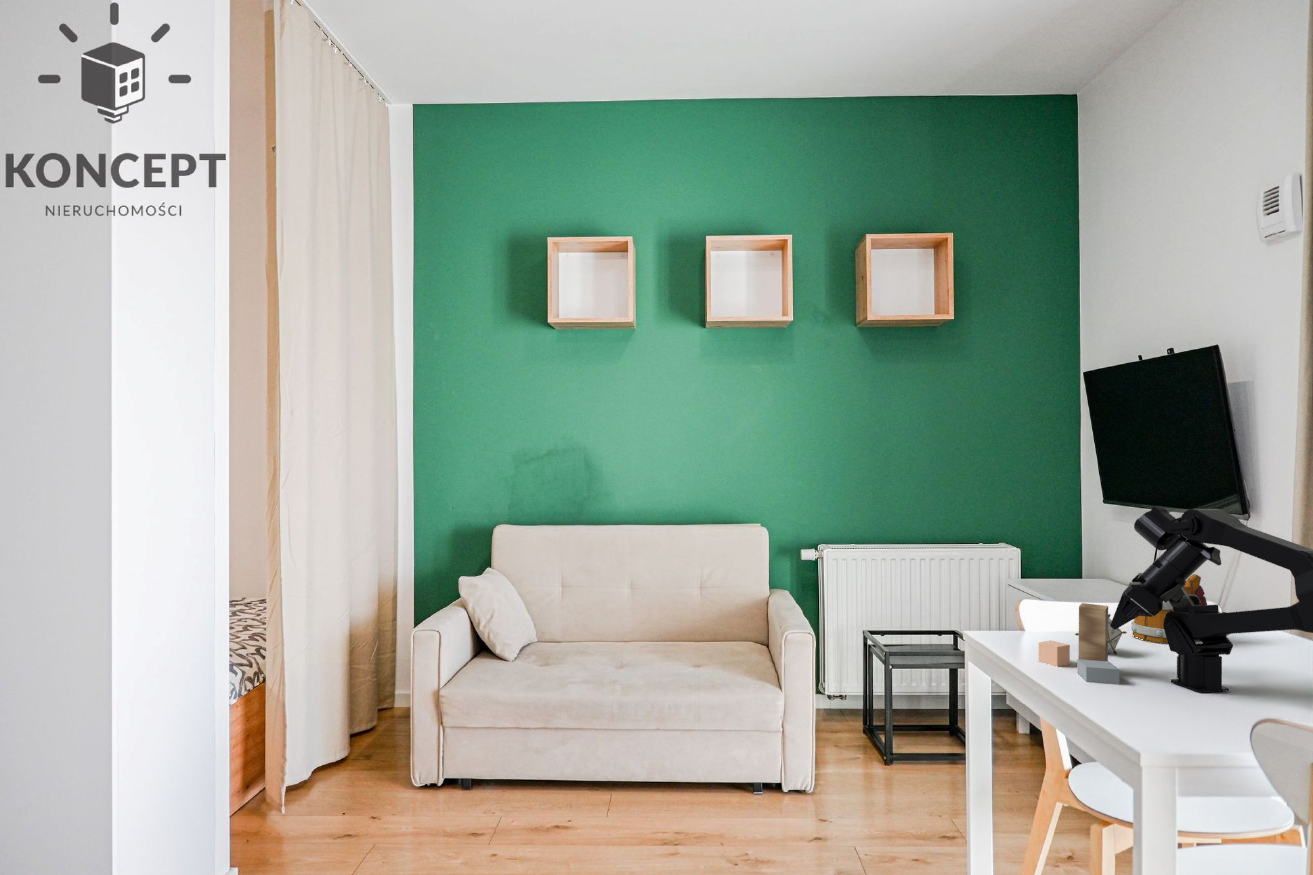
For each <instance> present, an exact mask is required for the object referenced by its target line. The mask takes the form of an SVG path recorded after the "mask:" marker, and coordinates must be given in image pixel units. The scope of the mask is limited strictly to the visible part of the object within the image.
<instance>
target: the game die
mask: <svg viewBox="0 0 1313 875" xmlns="http://www.w3.org/2000/svg"><path fill="white" fill-rule="evenodd" d="M1111 622H1112V619H1111V613H1108V652H1113V654H1114V653H1116V654H1115V655H1117V654H1118V653H1117V651H1116V648H1117V645H1118V643H1119V642H1120V639H1121V637H1122V635H1124V634H1125V635H1126V634H1127V633H1128V631H1126V630H1125V631H1122V630H1121V629H1120V627H1119V628H1118V629H1116V630H1114V629H1113V628H1112V627H1110V624H1111ZM1074 635H1075V636H1079V632H1076V633H1074Z"/></svg>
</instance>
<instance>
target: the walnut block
mask: <svg viewBox="0 0 1313 875" xmlns="http://www.w3.org/2000/svg"><path fill="white" fill-rule="evenodd" d="M1108 614H1109V605H1104V604H1094V603H1084V602H1082V603H1080V604H1079V607H1078V633H1079V635H1078V659H1079V660H1095V661H1109V651H1108Z"/></svg>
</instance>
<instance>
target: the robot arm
mask: <svg viewBox="0 0 1313 875" xmlns="http://www.w3.org/2000/svg"><path fill="white" fill-rule="evenodd" d="M1133 530H1134V531H1135V532H1136V533H1138V535H1139V536H1141V537H1142V538H1143V539H1145V541H1147V543H1149V544H1150V545H1151V546H1152V547H1154V548H1155V549H1156V550H1158V551H1163V553H1162V554H1160V556H1159V557H1157V558H1156V559H1155V560H1154V561H1153V563H1151V564H1150V565H1149V566H1148V568H1146V569H1145V571H1143V572H1138V573H1137V574H1136V575H1135V576H1134V577H1133V578H1132V580H1131V581H1130V582H1129V583H1128V586H1127V587H1126V588H1125V589H1124V591H1123V592H1122V593H1121V596H1120V599H1119V601H1118V604H1117V607H1116V610H1115V613H1114V614H1113V617H1112V619H1111V620H1112V622H1111V624H1110V627H1112V628H1113V629H1114V630H1116V629H1118V628H1119V629H1120V628H1121V627H1122V626H1124V625H1126V624H1128V623H1130V622H1132V621H1134V619H1135V618H1136V617H1138V616H1149V617H1153V616H1156V615H1157V614H1158V613H1159V612H1160V611H1161V610H1162V609H1163V601H1164V602H1165V603H1167V602H1168V601H1169V602H1170V604H1171V605H1172V607H1173V610H1174V611H1171V612H1168V613H1167V614H1166V617H1165V618H1164V625H1163V626H1164V631H1165V634H1166V637H1167V641H1168V644H1167V645H1168V647H1169V651H1170V652H1174V653H1176V654H1177V656H1176V678H1171V679H1170V683H1172V684H1175V685H1178V686H1181V687H1182V688H1183V687H1184V688H1187V689H1190V690H1192V691H1194V692H1197V693H1214V692H1215V693H1216V692H1218V693H1219V692H1230V687H1226V686H1223V657H1222V656H1221V655H1225V656H1227V655H1229V656H1230V654H1231V652H1232V650H1233V647H1234V645H1233V643H1232V642H1231V640H1230V638H1228V636H1229V635H1233V634H1235V635H1236V634H1246V633H1249V634H1250V633H1261V632H1262V633H1264V632H1277V631H1278V632H1279V631H1292V630H1294V631H1300V632H1305V633H1310V634H1313V549H1312V548H1309V547H1307V546H1304V545H1301V544H1298V543H1295V542H1293V541H1290V540H1287V539H1283V538H1281V537H1278V536H1276V535H1271V534H1270V533H1267V532H1263V531H1261V530H1258V529H1255V528H1252V527H1249V526H1248V525H1246V524H1244V523H1242V522H1241V520H1240V519H1239V518H1238V517H1236V516H1234V515H1232V514H1230V513H1228V512H1227V511H1225V510H1223V509H1219V508H1189V509H1187V510H1185V511H1184V512H1183V513H1182V514H1181V515H1180V517H1177V518H1176V517H1175V516H1173V515H1172V514H1171V513H1169V511H1168V510H1167V509H1166V508H1165V507H1164V506H1162V505H1161V506H1158V505H1155V506H1154V505H1153V506H1152V507H1151V509H1150V510H1148V511H1146V512H1145V513H1144V514H1142V515H1140V516H1139V517H1138V518H1137V519H1136V520H1135V522H1134V524H1133ZM1206 544H1208V545H1216V546H1223V547H1228V548H1231V549H1233V550H1236V551H1239V552H1242V553H1244V554H1247V555H1250V556H1251V557H1254V558H1258V559H1260V560H1262V561H1265V562H1268V563H1270V564H1271V565H1275V566H1278V567H1280V568H1284V569H1285V570H1288V571H1290V573H1291V575H1292V576H1293V580H1294V589H1295V597H1296V599H1297V600H1298V601H1297V602H1296V603H1293V604H1291V605H1290V606H1289V605H1288V606H1284V607H1274V608H1263V609H1253V610H1252V609H1251V610H1241V611H1232V612H1221V611H1220V610H1219V604H1207V605H1199V604H1200V603H1201V601H1200V600H1199V598H1198V597H1197V595H1192V594H1188V593H1187V591H1185V589H1184V588H1183V586H1184V585H1185V584H1186V581H1187V579H1188V578H1189V577H1190V576H1192V575H1193V574H1195V572H1197V570H1198V569H1199V568H1200V567H1201V566H1202V565H1204V564H1205V563H1206V562H1207V561H1209V562H1211V563H1213V564H1215V565H1216V566H1221V565H1222V559H1221V550H1220V549H1218V548H1217V547H1216V546H1208V545H1206Z"/></svg>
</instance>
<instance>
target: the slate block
mask: <svg viewBox="0 0 1313 875" xmlns="http://www.w3.org/2000/svg"><path fill="white" fill-rule="evenodd" d="M1076 664H1077V665H1076V666H1077V667H1076V669H1077V670H1076V674H1077V673H1078V674H1077V675H1078V676H1079V675H1080V676H1079V677H1080V678H1081V677H1082V679H1083V681H1085V682H1086V683H1096V684H1097V683H1098V684H1108V685H1109V684H1110V685H1120V669H1119V668H1118V667H1117V666H1116V665H1114V664H1113V663H1112V662H1110V661H1109V660H1108V661H1095V660H1079V658H1078V659H1077V660H1076Z"/></svg>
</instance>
